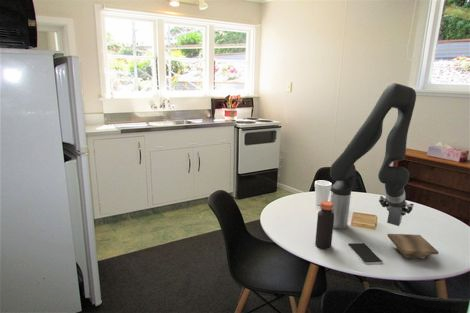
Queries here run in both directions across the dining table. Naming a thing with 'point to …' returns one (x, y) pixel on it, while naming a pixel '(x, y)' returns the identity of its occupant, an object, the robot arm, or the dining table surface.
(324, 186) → the foam cup
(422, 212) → the dining table surface
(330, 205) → the bottle
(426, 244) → the stand
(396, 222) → the block
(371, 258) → the smartphone
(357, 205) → the dining table surface
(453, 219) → the dining table surface
